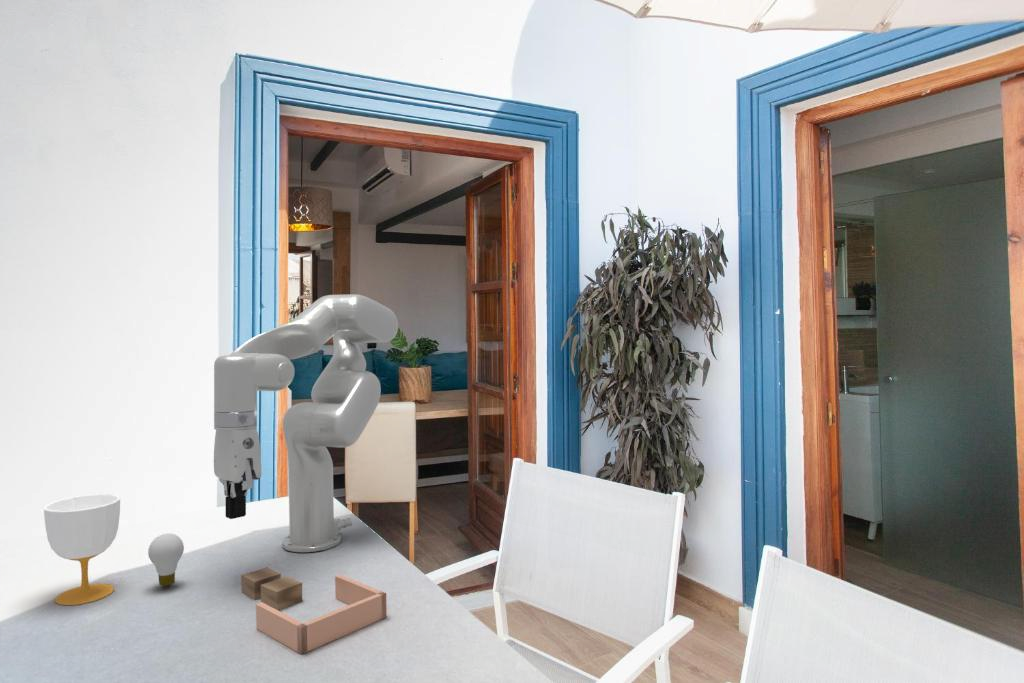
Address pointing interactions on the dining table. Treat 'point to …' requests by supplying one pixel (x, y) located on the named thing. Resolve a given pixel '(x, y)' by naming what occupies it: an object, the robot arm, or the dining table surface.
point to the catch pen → (325, 617)
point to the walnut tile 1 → (257, 581)
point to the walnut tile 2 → (281, 593)
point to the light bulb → (166, 557)
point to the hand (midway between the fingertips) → (235, 516)
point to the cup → (82, 538)
